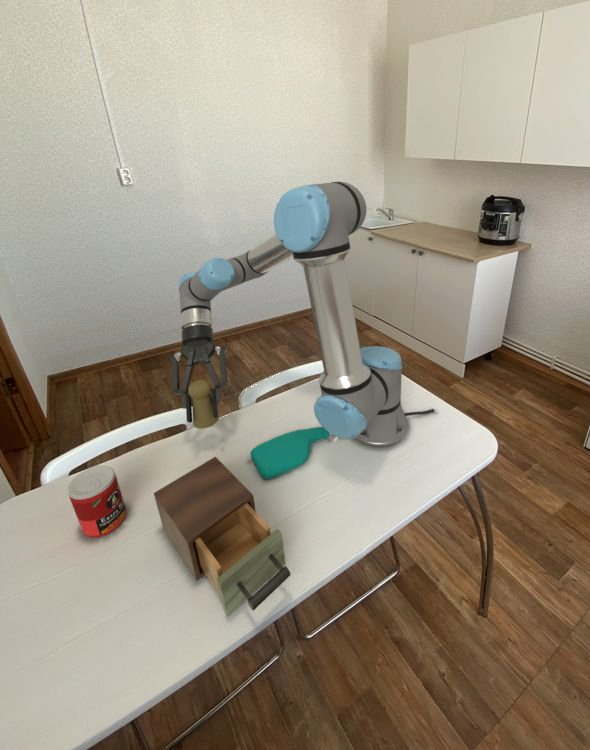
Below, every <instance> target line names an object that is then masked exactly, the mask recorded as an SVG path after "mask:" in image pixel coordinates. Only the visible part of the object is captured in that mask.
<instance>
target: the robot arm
mask: <svg viewBox="0 0 590 750" xmlns="http://www.w3.org/2000/svg"><path fill="white" fill-rule="evenodd" d="M366 216H367V203H366V200H365V198H364V195H363V194H362V193H361V191H360V190H359V189H358V188H357V187H355V186H354V185H353V184H350V183H349V182H345V181H331V182H324V183H312V184H304V185H301V186H296V187H294V188H291V189H289V190H287V191H285V193H283V195H282V196H280V198H279V201H278V202H277V204H276V205H275V208H274V212H273V229H274V232H275V233H274V234H272V235H271V236H269V237H267V238H266V239H265V240H263V241H261V242H260V243H258V244H257V245H255V246H253V247H252V248H250V249H249V250H247V251H246V252H244V253H242V254H239V255H237V256H234V257H230V258H227V259H225V258H221V257H213V258H211V259H208V261H207V262H205V263H204V264H203V265H201V266H200V269H199V270H198V271H194V272H193V271H191V272H187V273H186V274H183V275H182V276H181V277H180V279H179V286H178V292H179V303H180V304H179V305H180V307H179V308H180V328H181V347H180V350H179V351H178V352H176V353H170V354H169V355H168V358H169V360H170V361H171V392H172V393H173V394H174V395H177V396H178V395H179V396H180V406H181V408H182V410H184V409H185V414H186V415H185V417H186V422H187V423H190V424H191V423H193V409H192V398H191V397H190V395H189V393H188V388H189V386H190V384H191V381H192V376H193V372H194V369H195V366H196V365H199V364H205V367H206V368H207V371H208V374H209V377H210V379H211V382H212V384H213V388H211V392H210V393H211V397H212V406H213V416H214V417H215V418H216V417H218V416H219V412H218V403H221V402H222V391H221V390H222V388H224V387H226V386H228V385H229V381H228V372H227V363H226V355H227V348H226V346H225V345H221V346H217V345H216V344H215V342H214V329H213V318H212V305H211V301H213V299H214V298H216V297H217V296H218V295H219V294H220V293H223V292H224V291H226V290H229V289H232V288H234V287H237V286H240V285H242V284H244V283H247V282H250V281H253V280H256V279H259V278H261V277H263V276H264V275H267V274H268V273H269V271H271V270H273V269H275V268H277V267H278V266H280V265H282V264H284V263H285V262H288V261H289V260H291V259H293V260H294V261H295V262H297V263H298V264H299V265H301V266H302V268H303V273H304V278H305V283H306V288H307V292H308V298H309V303H310V307H311V313H312V318H313V322H314V328H315V332H316V333H315V334H316V338H317V343H318V348H319V352H320V357H321V362H322V366H323V371H322V372H321V373H320V375H319V377H318V383H319V388H320V392H321V395H320V396H318V397H317V398H316V400H315V402H314V405H313V411H314V413H313V414H314V416H315V418H316V420H317V421H318V423H319V425H320V427H323V428H324V429H326V430H327V431H328V432H329V433H330V434H331V435H332V436H334V437H335V438H336V437H338V439H341V440H353V439H355V440H356V441H357V442H359V443H360V444H363V445H365V446H367V447H372V448H387V447H391V446H394V445H396V444H398V443H399V442H401V441H402V440H403V439H404V438H405V436H406V434H407V432H408V421H407V418H406V417H409V416H420V415H427V414H431V413H435V409H434V408H432V409H428V410H423V411H411V412H404V409H403V406H402V404H401V403H402V402H401V401H402V373H403V365H402V356H401V355H400V354H399V352H397V351H396V350H395V349H392V348H389V347H385V346H381V345H379V346H378V345H371V346H364V347H361V346H360V340H359V334H358V330H357V329H358V328H357V324H356V318H355V312H354V307H353V300H352V293H351V288H350V281H349V275H348V271H347V264H346V257H347V256H348V254H349V253H350V251H351V242H350V236H351V235H353V234H354V233H356V232H358V230H359V229H360V228H361V227H362V226H363V224H364V222H365V220H366ZM215 352H216V355H217V356H218V361H219V371H220V381H219V379H218V376H217V374H216V371H215V369H214V367H213V364H212V361H211V359H212V356H214V354H215ZM182 357H183V359H185V360H186V363H185V365H186V366H185V371H184V374H183V378H182V383H181V382H180V381H181V380H180V378H181V377H180V362H181V360H182V359H181V358H182ZM180 384H181V385H180ZM180 386H181V387H180Z"/></svg>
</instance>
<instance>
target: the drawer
mask: <svg viewBox="0 0 590 750" xmlns="http://www.w3.org/2000/svg"><path fill="white" fill-rule="evenodd" d="M193 546H194V550H195V554H196V558H197V562H198V564H199V566H200V567H201V569H202V570H203V572H204V573H205V576H206V577H207V580H209V582H210V583H211V585H212V586H213V588H214V589H215V591H216V592H217V593H218V596H219V597H220V600H221V606H222V611H223V613H224V614H225V616H226V617H229V616H230V615H232V614H233V612H235V611H236V610H237V609H238V608H239V607H240V606H241V605H243V603H244V602H246V601H247V604H248V607H249V609H250V610H251V611H253V612H254V611H255V610H256V609H258V607H259V606H260V605H261V604H263V603H264V601H266V599H268V597H270V596H271V595H272V594H273V593H274V592H275V591H276V590H277V589H278V588H279V587H280V586H281V585H282V584H283V583H284V582H285V581H286V580H287V579H289V578H290V577H291V575H292V574H291V571H290V570H289V569H290V568H288V567H287V566H286V559H285V557H286V556H285V549H284V542H283V533H282V531H281V530H280V529H279V528H276V529H275V530H274V531H272V533H271V527H270V525H269V524H267V522H266V521H265V520H264V519H263V518H262V517H261V516H260V515H259V514H258V513H257V511H256V512H255V511H254V510H253V509H252V508H251V507H250V506H249V504H248V503H246V504H245V505H243V506H242V507H240V508H239V509H238V510H236V511H235V512H234V513H232V514H231V515H229V516H228V517H227V518H225V519H224V520H222V521H221V522H220V523H218V524H217V525H216V526H214V527H213V528H211V529H210V530H209V531H207V532H206V533H205V534H203V535H202V536H200V537H199V538H198V539H196V540H195V541H193ZM284 565H285V566H284Z"/></svg>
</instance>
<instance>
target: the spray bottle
mask: <svg viewBox="0 0 590 750" xmlns="http://www.w3.org/2000/svg"><path fill="white" fill-rule="evenodd" d="M331 435H332V434H330V433H329V432H328V431H327V430H326V429H324V428H323V427H322V426H318V427H310V428H305V429H297V430H292V431H289V432H286V433H284V434H280V435H278V436H276V437H273V438H271V439H268V440H267V441H264V442H262V443H260V444H258V445H256V446H255V447H253V448H252V449H251V450H250V459H251V461H252V463H253V464H254V466H255V469H256V470H257V472H258V474H259V475H260V476H261V478H263V479H264V480H268V479H272V478H275V477H277V476H280V475H282V474H285V473H288V472H290V471H292V470H294V469H297V468H298V467H300V466H301V465H303V464H305V463H306V461H308V459H309V457H310V455H311V447H312V444H315V443H316V442H320V441H322V440H323V439H329V438H330V436H331ZM338 439H339V438H338V437H336V436H335V438H334V440H333V441H334V442H337V441H338Z"/></svg>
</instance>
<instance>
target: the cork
mask: <svg viewBox="0 0 590 750" xmlns="http://www.w3.org/2000/svg"><path fill="white" fill-rule="evenodd" d="M211 389H212V384H211V383H210V382H209V381H208V380H207V379H197V380H195V381H193V382H190V386H189V388H188V393H189V395H190V397H191V404H192V426H193V428H195V429H198V430H203V429H208V428H210V427H213V426H214V425H216V424H217V423H218V421H219V418H220V417H219V415H218V417H216V418H215V417H214V416H213V406H212V394H211V393H212V392H211Z"/></svg>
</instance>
